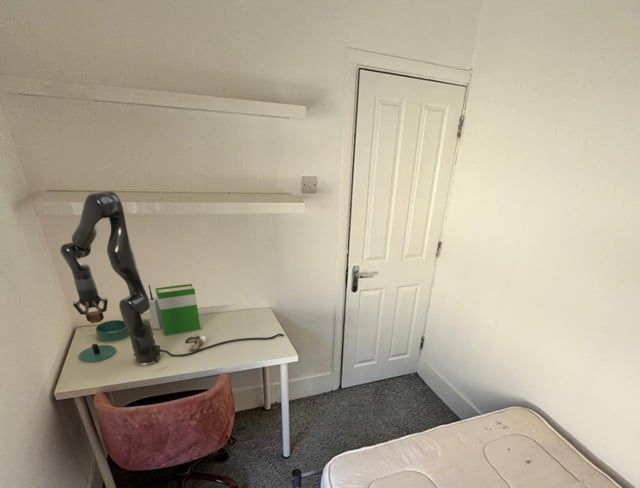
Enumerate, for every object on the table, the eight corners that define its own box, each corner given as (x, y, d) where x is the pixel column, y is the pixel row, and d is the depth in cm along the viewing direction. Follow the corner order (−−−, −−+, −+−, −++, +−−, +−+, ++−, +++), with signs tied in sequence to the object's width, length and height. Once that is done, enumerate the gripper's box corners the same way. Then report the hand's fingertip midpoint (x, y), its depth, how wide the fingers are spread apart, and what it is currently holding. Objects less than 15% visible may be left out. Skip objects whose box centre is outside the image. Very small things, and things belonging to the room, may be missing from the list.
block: (100, 318, 185) (98, 310, 183) (101, 321, 183) (99, 314, 181) (91, 319, 184) (88, 312, 181) (91, 323, 181) (88, 315, 179)
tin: (131, 328, 210) (129, 319, 207) (128, 340, 198) (125, 331, 196) (101, 330, 205) (98, 321, 202) (96, 343, 194) (93, 334, 191)
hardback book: (197, 323, 220) (191, 283, 207) (200, 329, 215) (194, 288, 202) (163, 329, 211) (155, 288, 199) (165, 335, 206) (157, 293, 194)
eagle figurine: (191, 339, 202) (181, 344, 194) (198, 329, 200) (188, 334, 192) (203, 348, 203) (193, 354, 195) (210, 339, 201) (200, 344, 192)
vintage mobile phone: (163, 325, 215) (155, 282, 202) (160, 329, 211) (151, 286, 198) (157, 324, 215) (147, 282, 202) (153, 329, 211) (143, 286, 198)
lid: (117, 345, 194) (114, 335, 191) (113, 361, 182) (110, 351, 179) (83, 349, 189) (79, 338, 186) (76, 365, 177) (72, 354, 174)
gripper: (66, 291, 168) (78, 326, 177) (105, 287, 175) (114, 321, 184) (66, 285, 173) (78, 319, 182) (104, 281, 180) (113, 314, 189)
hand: (96, 320), depth 183 cm, fingers closed on block, 4 cm apart
